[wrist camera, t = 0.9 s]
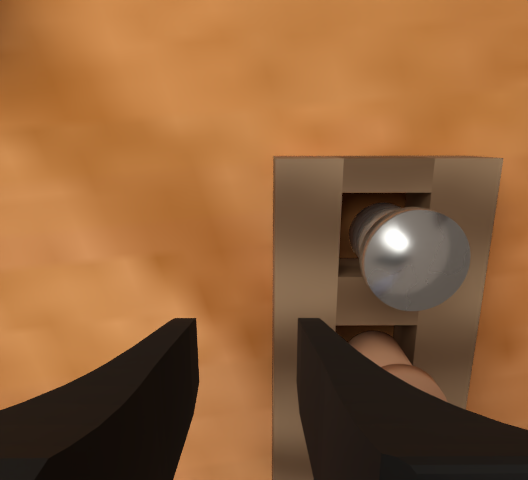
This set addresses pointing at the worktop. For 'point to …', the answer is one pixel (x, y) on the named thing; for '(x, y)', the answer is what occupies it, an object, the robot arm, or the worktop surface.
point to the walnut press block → (352, 282)
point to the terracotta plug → (394, 360)
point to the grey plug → (409, 254)
